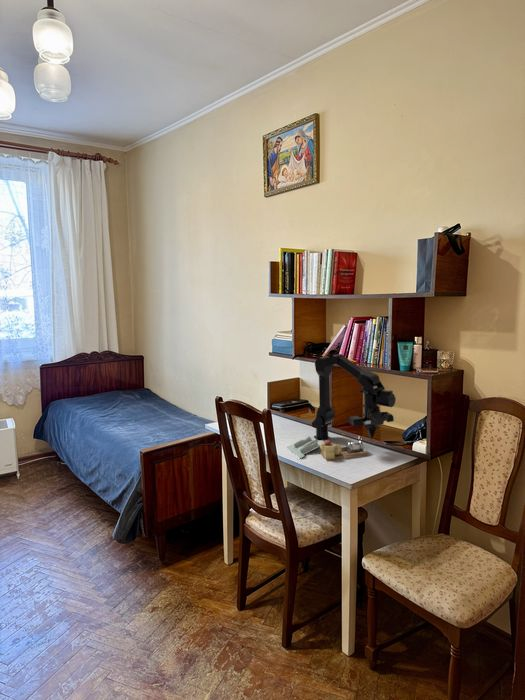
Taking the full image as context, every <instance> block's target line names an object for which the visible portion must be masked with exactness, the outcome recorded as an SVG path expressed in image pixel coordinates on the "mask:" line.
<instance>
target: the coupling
mask: <svg viewBox="0 0 525 700" xmlns="http://www.w3.org/2000/svg"><path fill="white" fill-rule="evenodd" d="M345 446H346V450H347V452H348V454H350V453H354V452H364V449H365V448H364V443H363V441H362V440H361V439H360V440H357V441H352V442H350V441H347V442H346V443H345Z"/></svg>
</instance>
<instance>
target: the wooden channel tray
mask: <svg viewBox="0 0 525 700" xmlns="http://www.w3.org/2000/svg"><path fill="white" fill-rule="evenodd" d="M320 445H321V446H320V452H319V455H321V457H323V459H324V460H325V461H326V462H327V463H328V462H333V461H340V460H341V461H342V460H348V459H355V458H363V457H368V452H367V451H364V450H363V452H354V453H350V454H348V452H347V450H346V445H345V446H341V445H340V443H338V444H337V443H335V444H333V443H332V441H331V440H330V439H326V440H323V442H320Z"/></svg>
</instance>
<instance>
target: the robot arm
mask: <svg viewBox="0 0 525 700" xmlns="http://www.w3.org/2000/svg"><path fill="white" fill-rule="evenodd" d="M334 365H337V366H338V367H340V368H341V369H342V370H344V371H346V372H347V373H348V374H350V376H353V377H354V378H355V379H356V380H357V382H358V383H359V384H360V386H362V388H361V389H359V390H358V391H359V393H363V404H362V407H363V408H364V410H363V411H364V412H363V414H362V417H360V416H358V415H352V416H349V418H348V424H350V425H351V426H353V427H361V426H362V425H363V426H364V427H365V429H366V432H367V434H368V437H369V438H370V439H373V438H374V436H375V434H376V433H375V432H376V431H377V428H378V427H379V426H381V425H384V422H385V421H386V422H387V423H389V422H390V423H391V422H395V417H394V415H393V414H391V413H390V412H388V411H381V410H380V406H382V407H388V408H393V407H394V406H395V404H396V397H395V394H394V393H393V390H386V388H385V385H383V383H382V381H381V380H380V377H379V375H378V374H377V373H374V372H372V371H370V370H365V369H363V368H361V367H360V366H358V365H357V364H355V363H354V362H353V361H351V360H349V359H348V358H347V357H345V355H343V354H342V353H338V354H335V355H332V356H329V355H327V356H326V355H325V356H322V357H321V356H320V357H318V358H317V359H316V360H315V361H314V367H315V372H316V374H317V375H318V385H319V386H318V391H319V393H318V395H319V396H318V397H319V400H318V401H319V406H318V408H317V410H316V414H315V419H314V420H313V421H312V422H311V426H312V428H314V429H315V435H314V436H313V438H314V439H317V440H318V441H326V440H331V439H332V438H331V437H330V436H329V425H332V423H333V421H334V420H335V418H336V416H335V415H336V414H335V408H332V406H331V386H330V385H331V383H330V382H331V381H330V379H331V377H330V376H331V373H332V372H333V370H334V369H333V368H334Z"/></svg>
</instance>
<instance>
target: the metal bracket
mask: <svg viewBox="0 0 525 700" xmlns="http://www.w3.org/2000/svg"><path fill="white" fill-rule="evenodd" d="M318 441H319V440H317V439H316V438H312V437H311V436H307V437H306V438H305V439H301V440H298V441H296V442H295V443H293V444H290V445H287V446H286V447H287V448H288V449H289V450H290V451H291V452H290V451H289V450H288V449H287V448H286V449H287V450H288V451H289V452H290V453H291V454H293V453H294V454H295V455H297V456H298V457H299V458H301V459H302V458H304V457H305V455H306V454H307V453H310V452H312V451H314V450H316V449H320V448H321V443H319V442H318ZM294 454H293V455H294ZM295 455H294V456H295Z"/></svg>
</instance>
